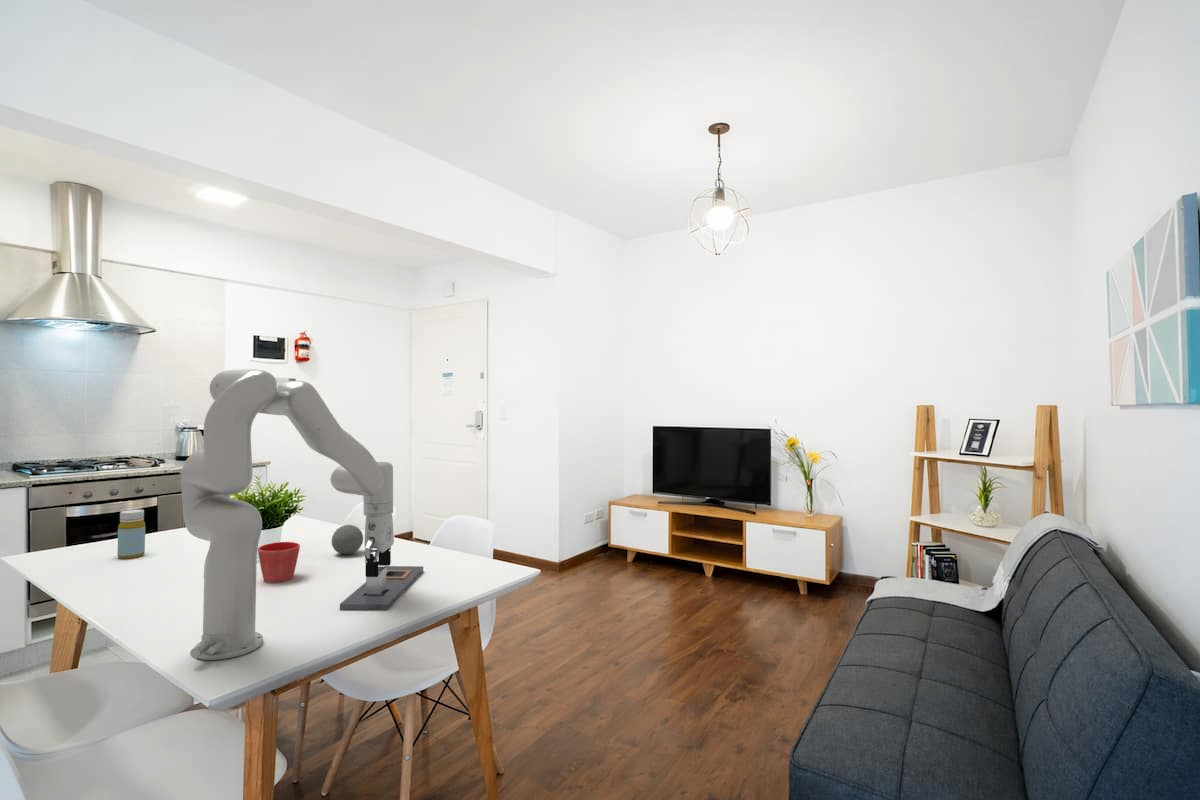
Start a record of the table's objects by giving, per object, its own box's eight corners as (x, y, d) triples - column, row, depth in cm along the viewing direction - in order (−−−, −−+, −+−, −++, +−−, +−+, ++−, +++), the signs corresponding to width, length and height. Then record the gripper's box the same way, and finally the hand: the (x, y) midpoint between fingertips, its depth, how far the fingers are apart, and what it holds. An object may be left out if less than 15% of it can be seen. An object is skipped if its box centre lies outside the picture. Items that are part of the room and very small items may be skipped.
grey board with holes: (387, 610, 148) (387, 603, 148) (339, 609, 148) (339, 602, 148) (423, 571, 182) (423, 565, 182) (384, 570, 182) (384, 565, 182)
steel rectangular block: (380, 600, 155) (381, 570, 155) (365, 600, 155) (366, 570, 155) (385, 595, 159) (386, 566, 159) (371, 595, 159) (371, 566, 159)
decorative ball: (325, 557, 196) (326, 527, 196) (340, 550, 206) (340, 521, 206) (354, 558, 195) (355, 528, 195) (367, 550, 205) (368, 522, 205)
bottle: (123, 554, 194) (124, 509, 194) (148, 553, 196) (149, 508, 196) (113, 560, 188) (114, 513, 188) (138, 558, 190) (139, 512, 190)
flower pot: (287, 584, 167) (288, 551, 167) (249, 584, 167) (250, 550, 167) (306, 573, 177) (306, 542, 177) (270, 573, 177) (270, 541, 177)
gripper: (381, 515, 149) (381, 581, 149) (402, 501, 166) (402, 561, 167) (351, 515, 149) (351, 581, 149) (375, 501, 166) (375, 561, 166)
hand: (378, 570), depth 158 cm, fingers open, 9 cm apart
